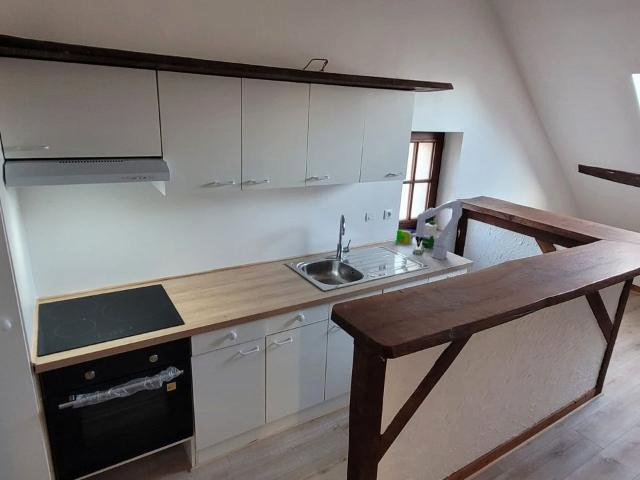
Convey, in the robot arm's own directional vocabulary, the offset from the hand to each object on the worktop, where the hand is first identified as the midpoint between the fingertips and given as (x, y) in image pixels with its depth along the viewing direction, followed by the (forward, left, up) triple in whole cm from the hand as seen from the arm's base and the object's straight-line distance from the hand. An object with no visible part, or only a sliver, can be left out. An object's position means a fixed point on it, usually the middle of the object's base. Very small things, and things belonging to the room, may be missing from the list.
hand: (418, 246), depth 304 cm
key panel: (+2, -5, -5) cm, 7 cm away
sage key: (0, 0, -3) cm, 3 cm away
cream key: (+2, -5, -3) cm, 6 cm away
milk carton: (+2, -22, -5) cm, 22 cm away
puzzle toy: (+21, -19, -5) cm, 28 cm away
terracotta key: (+3, -10, -3) cm, 11 cm away
